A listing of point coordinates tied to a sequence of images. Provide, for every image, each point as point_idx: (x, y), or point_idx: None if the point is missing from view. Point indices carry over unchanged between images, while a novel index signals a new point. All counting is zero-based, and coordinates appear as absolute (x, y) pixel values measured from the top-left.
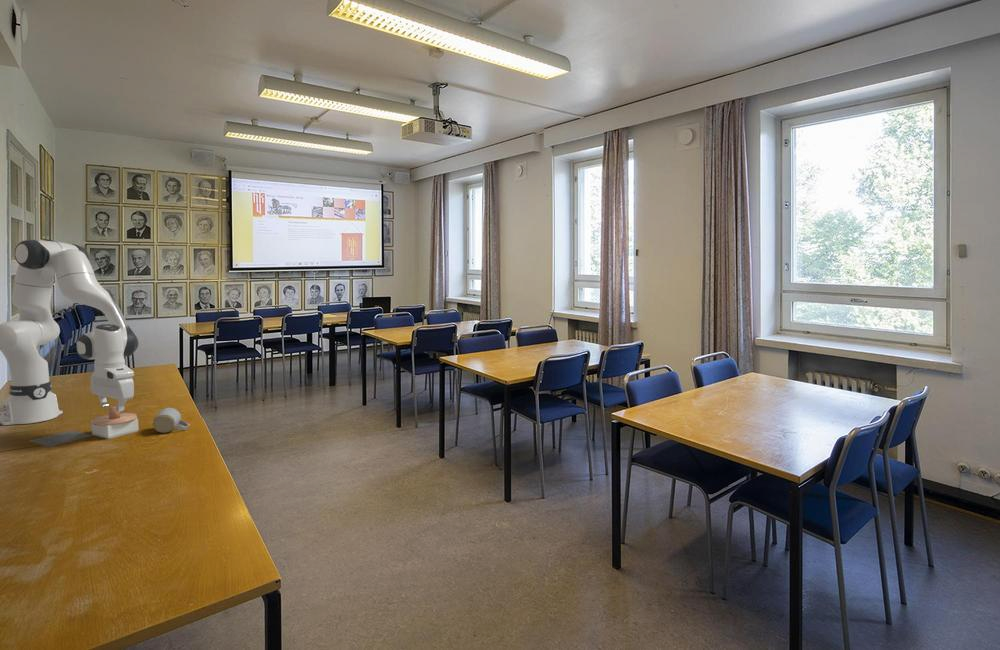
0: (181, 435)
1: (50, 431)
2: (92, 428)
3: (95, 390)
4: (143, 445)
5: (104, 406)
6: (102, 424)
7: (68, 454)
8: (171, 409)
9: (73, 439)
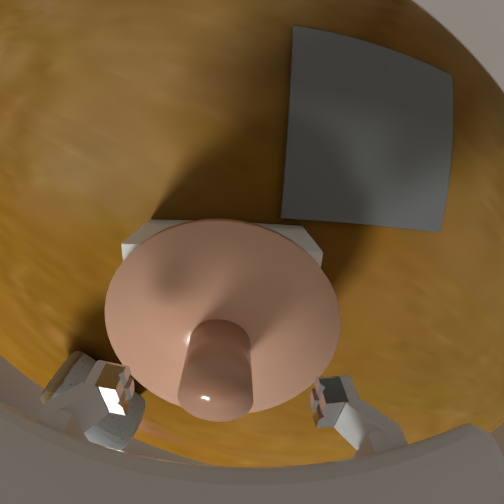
0: (29, 350)
1: (490, 199)
2: (302, 237)
3: (432, 473)
4: (3, 242)
5: (317, 386)
6: (154, 236)
7: (114, 31)
8: None
9: (308, 136)
